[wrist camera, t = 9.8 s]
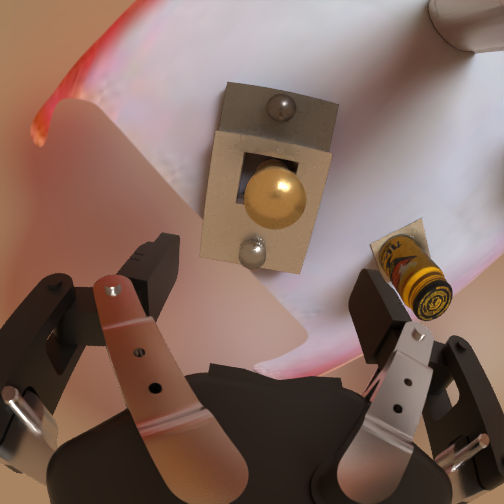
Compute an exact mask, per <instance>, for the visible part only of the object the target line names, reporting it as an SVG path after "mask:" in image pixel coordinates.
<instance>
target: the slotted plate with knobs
mask: <svg viewBox="0 0 504 504" xmlns="http://www.w3.org/2000/svg"><path fill="white" fill-rule="evenodd" d="M338 106H339V104H335V103H332V102H328V101H324V100H321V99H317V98H313V97H309V96H305V95H300V94H296V93H292V92H287V91H282V90H277V89H272V88H266V87H260V86H254V85H248V84H241V83H233V82H227V86H226V92H225V97H224V103H223V108H222V114H221V120H220V126H219V130H217V131H215V138H214V144H213V151H212V157H211V164H210V171H209V179H208V186H207V194H206V202H205V210H204V219H203V228H202V238H201V247H200V257H203V258H209V259H214V260H220V261H226V262H231V263H236V264H242V265H243V266H244V267H246V268H248V269H257V268H265V269H270V270H276V271H282V272H288V273H294V274H300V272H301V268H302V265H303V262H304V258H305V255H306V252H307V248H308V245H309V241H310V238H311V234H312V231H313V227H314V224H315V220H316V217H317V213H318V209H319V206H320V202H321V198H322V194H323V190H324V187H325V183H326V179H327V175H328V171H329V167H330V163H331V159H332V155H333V154H332V153H330V152H328V151H329V147H330V143H331V138H332V134H333V130H334V125H335V120H336V116H337V111H338ZM246 152H249V153H255V154H260V155H265V156H271V157H276V158H281V159H286V160H290V161H294V164H293V168H292V172H293V173H294V174H295V175H296V176H297V177H298V178H299V180H300V181H301V183H302V185H303V187H304V189H305V192H306V207H305V210H304V212H303V214H302V216H301V217H300V218H299V219H298V220H297V221H296V222H295V223H294V224H292V225H291V226H289V227H286V228H283V229H267V228H264V227H261V226H260V225H258V224H256V223H255V222H254V221H253V220H252V219H251V218H250V217H249V215H248V214H247V212H246V209H245V206H244V194H240V193H239V189H240V184H241V178H242V172H243V166H244V161H245V155H246Z"/></svg>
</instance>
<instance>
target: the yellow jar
mask: <svg viewBox="0 0 504 504" xmlns="http://www.w3.org/2000/svg"><path fill="white" fill-rule="evenodd" d="M410 236H414V237H410ZM371 247H372V250H373V253H374V256H375V258H376V261H377V264H378V267H379V270H380V273H381V275H382V276H383V278H384V280H385V281H386V283H387V282H388V281H391V282H392V284H393V285H394V287H395V289H396V290H397V292H398V293H399V295H400V297H401V298H402V300H403V302H404V303H405V305H406V306H408V307H409V308H411V310H412V311H413V312H414V314H415V315H416V317H417V318H418V319H420V320H424V321H429V320H433V319H436V318H438V317H439V316H441V315H442V314H443V313H444V312H445V311H446V310H447V308H448V306H449V305H450V303H451V300H452V295H453V293H452V288H451V286H450V284H448V283H447V281H446V279H445V278H444V274H443V272H442V271H441V269H440V268H439V267H438V266H437V265H436V264H435V263H434V262H433V260H432V259H431V258H430V254H429V249H428V245H427V240H426V236H425V231H424V227H423V222H422V219H419V220H417V221H415V222H413V223H412V224H410V225H408V226H406V227H404V228H402V229H400V230H397V231H395V232H393V233H391V234H389V235H387V236H385V237H383V238H381V239H380V240H377V241H375V242H374V243H372V244H371Z"/></svg>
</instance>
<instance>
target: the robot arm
mask: <svg viewBox="0 0 504 504" xmlns="http://www.w3.org/2000/svg"><path fill="white" fill-rule="evenodd" d="M428 11H429V15H430V18H431V20H432V23H433V25H434V26H435V28H436V30H437V31H438V32H439V34H440V35H441V36H442V37H443V38H444V39H445V40H446V41H447V42H448V43H449V44H450V45H452V46H453V47H455V48H457V49H459V50H462V51H473V52H474V53H484V52H494V51H504V0H430V1H429V4H428ZM179 245H180V237H179V235H174V234H168V233H161V234H160V235H159V237H158V238H157V239H156V240H155V242H147V243H145V244H143V245H141V246H139V247H138V249H137V250H136V251H135V252H134V254H132V256H131V257H130V259H128V260H127V262H126V263H125V264H124V265H123V266H122V268H121V269H120V270H119V271H118V273H117V274H116V275H107V276H104V277H102V278H100V279H98V280H97V281H96V282H95V283H94V286H93V287H74V286H73V281H72V278H71V277H70V276H69V275H67V274H63V273H56V274H52V275H49V276H47V277H45V278H43V279H42V280H41V281H40V282H39V283H38V284H37V286H36V287H35V288H34V289H33V290H32V291H31V293H29V295H28V296H27V297H26V298H25V299H24V300H23V302H22V303H21V304H20V305H19V306H18V308H17V309H16V310H15V311H14V312H13V314H12V315H11V316H10V317H9V319H8V320H7V321H6V323H5V324H4V325H3V327H2V328H1V329H0V463H1V464H4V465H5V466H7V467H8V468H10V469H11V470H13V471H14V472H16V473H24V474H26V475H27V476H29V477H31V478H33V479H34V480H36V481H38V482H39V483H41V484H43V485H45V486H47V490H48V494H49V498H50V503H51V504H467V503H469V502H471V501H473V500H475V499H477V498H479V497H480V496H482V495H484V494H486V493H487V492H489V491H491V490H493V489H495V488H496V487H498V486H500V485H501V484H503V483H504V414H503V411H502V409H501V406H500V404H499V402H498V399H497V397H496V395H495V393H494V391H493V389H492V386H491V384H490V382H489V380H488V378H487V376H486V374H485V372H484V370H483V368H482V366H481V364H480V362H479V360H478V358H477V356H476V355H475V353H474V351H473V349H472V347H471V346H470V345H469V343H468V342H467V341H466V340H464V339H463V338H461V337H459V336H455V335H453V336H451V337H450V338H449V340H448V341H447V342H446V344H443V343H439V342H437V341H434V339H433V335H432V333H431V332H430V331H429V329H428V328H426V327H425V326H424V325H422V324H420V323H418V322H414V321H412V320H411V318H410V316H409V314H408V312H407V311H406V309H405V307H404V305H402V302H401V300H400V299H399V297H398V295H397V293H396V292H395V290H394V289H393V288H392V287H391V286H390V285H388V284H387V283H386V281H385V280H384V278H383V276H382V275H381V273H380V272H379V271H376V270H370V269H365V268H364V269H362V270H361V272H360V274H359V277H358V279H357V282H356V284H355V286H354V289H353V291H352V293H351V296H350V299H349V312H350V315H351V318H352V320H353V323H354V326H355V329H356V332H357V335H358V338H359V342H360V345H361V348H362V351H363V354H364V357H365V361H366V363H367V364H378V367H377V369H376V370H375V372H374V373H373V375H372V377H371V379H370V381H369V382H368V384H367V386H366V388H365V389H364V391H363V393H362V394H361V395H359V394H358V393H356V392H354V391H352V390H349V389H346V388H343V387H342V382H341V378H333V377H316V376H309V377H302V378H294V379H286V380H276V379H273V378H270V377H267V376H264V375H261V374H258V373H255V372H252V371H249V370H246V369H242V368H236V367H230V366H224V365H218V364H212V363H210V367H209V372H208V373H196V374H191V375H186V376H183V374H182V372H181V370H180V368H179V367H178V365H177V363H176V361H175V360H174V358H173V356H172V354H171V352H170V350H169V348H168V346H167V344H166V343H165V341H164V339H163V337H162V335H161V333H160V331H159V329H158V327H157V325H156V321H157V319H158V317H159V315H160V312H161V310H162V308H163V306H164V304H165V302H166V300H167V298H168V296H169V294H170V292H171V290H172V288H173V286H174V283H175V281H176V279H177V275H178V267H179ZM52 331H53V332H52ZM51 332H52V334H51ZM50 334H51V335H50ZM49 335H50V337H49ZM48 337H49V338H48ZM47 338H48V340H47ZM86 345H88V346H106V348H107V351H108V354H109V358H110V361H111V364H112V368H113V371H114V374H115V376H116V379H117V382H118V385H119V388H120V391H121V394H122V396H123V399H124V402H125V404H126V407H127V409H125V410H124V411H122V412H120V413H118V414H117V415H115V416H113V417H112V418H110V419H108V420H106V421H104V422H103V423H101V424H99V425H97V426H96V427H94V428H92V429H90V430H88V431H86V432H84V433H82V434H80V435H79V436H77V437H75V438H73V439H71V440H69V441H67V442H66V443H64V444H62V445H61V446H60V447H59V448H57V435H58V426H57V423H56V420H55V419H54V417H53V413H54V411H55V409H56V407H57V404H58V402H59V400H60V398H61V395H62V393H63V391H64V389H65V387H66V384H67V382H68V380H69V378H70V376H71V374H72V372H73V370H74V368H75V366H76V364H77V362H78V360H79V358H80V356H81V354H82V352H83V350H84V349H85V347H86ZM453 380H455V382H456V385H457V388H458V390H459V394H460V395H459V400H458V402H457V404H456V405H455V406H454V407H453V408H452V405H451V403H450V399H449V397H448V394H447V391H446V388H447V387H448V386H449V384H450V383H451V382H452V381H453ZM421 413H422V415H423V418H424V422H425V426H426V430H427V434H428V437H429V442H430V446H431V450H432V455H433V459H434V460H433V459H431V458H430V457H429V456H428V455H427V454H426V453H425V452H424V451H422V450H421V449H420V448H419V447H418V446H417V445H416V444H415V443H414V442H413V441H412V439H413V436H414V433H415V431H416V428H417V425H418V422H419V419H420V416H421Z"/></svg>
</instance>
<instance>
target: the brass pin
mask: <svg viewBox="0 0 504 504" xmlns="http://www.w3.org/2000/svg"><path fill="white" fill-rule="evenodd" d="M244 206H245V209H246V212H247V214H248V215H249V217H250V218H251V219H252V220H253V221H254V222H255V223H256V224H258V225H260V226H261V227H264V228H267V229H283V228H286V227H289V226H291V225H292V224H294V223H295V222H296V221H297V220H298V219H299V218H300V217H301V216H302V214H303V212H304V210H305V207H306V192H305V189H304V187H303V185H302V183H301V181H300V180H299V178H298V177H297V176H296V175H295V174H294V173H293V172H291V171H290V170H288V168H287V167H286V165H285V164H284V163H282V162H281V161H279V160H275V159H270V160H266V161H264V162H262V163H261V164H260V165H259V166H258V168H257V169H256V173H255V174H254V175H253V176H252V177H251V178H250V180H249V182H248V184H247V186H246V190H245V193H244Z"/></svg>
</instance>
